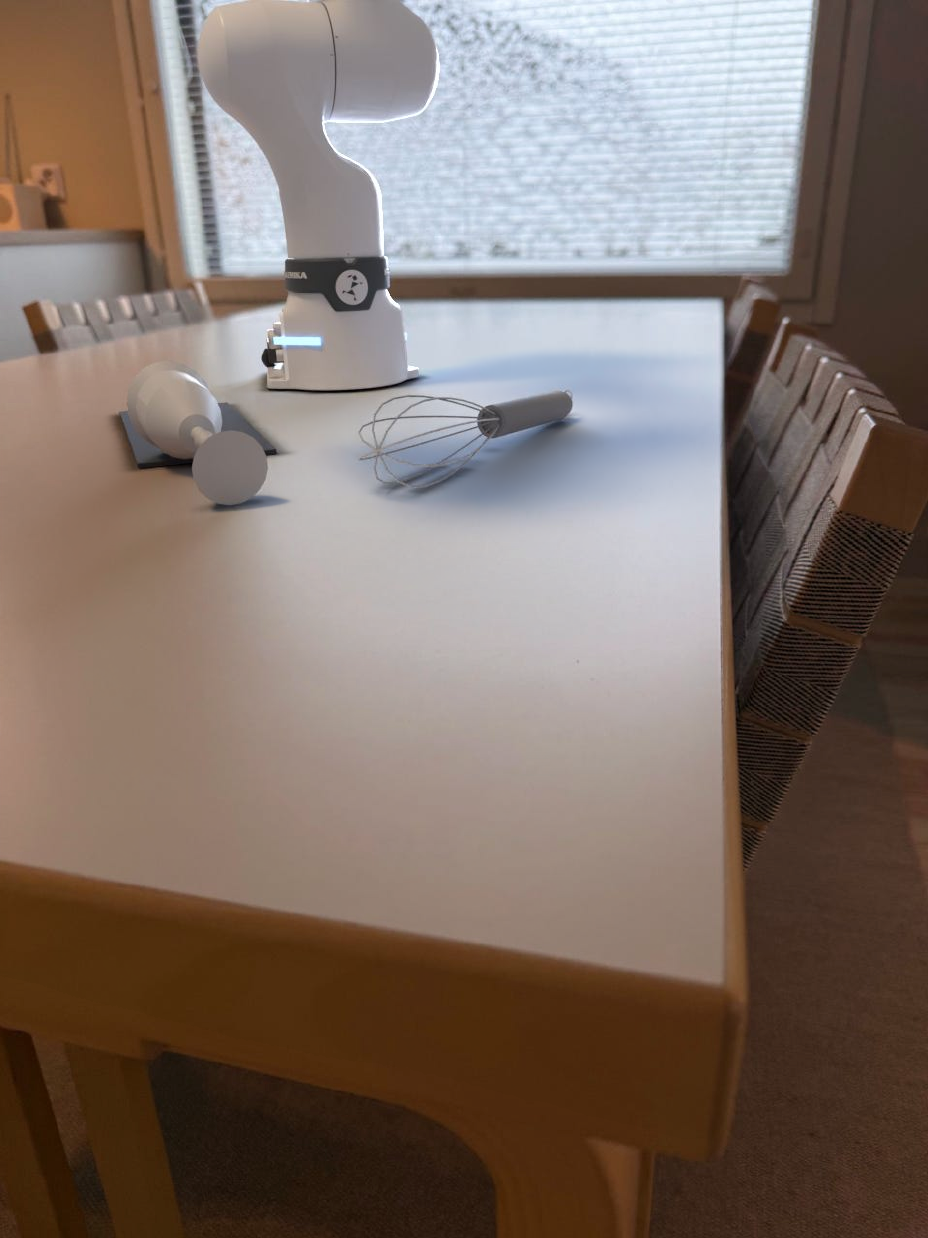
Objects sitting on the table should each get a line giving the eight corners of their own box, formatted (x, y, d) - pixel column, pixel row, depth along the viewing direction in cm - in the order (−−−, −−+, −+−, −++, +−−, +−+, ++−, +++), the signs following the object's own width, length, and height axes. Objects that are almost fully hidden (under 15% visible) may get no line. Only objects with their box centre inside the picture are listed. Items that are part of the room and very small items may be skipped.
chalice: (196, 533, 62) (143, 459, 76) (291, 502, 64) (223, 436, 78) (163, 430, 58) (114, 372, 72) (265, 401, 60) (198, 350, 74)
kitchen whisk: (599, 416, 88) (601, 347, 86) (418, 509, 61) (413, 412, 58) (540, 412, 91) (540, 345, 88) (341, 499, 64) (334, 406, 61)
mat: (119, 415, 95) (119, 411, 95) (227, 405, 99) (227, 402, 99) (138, 468, 73) (137, 463, 73) (276, 453, 76) (276, 448, 76)
